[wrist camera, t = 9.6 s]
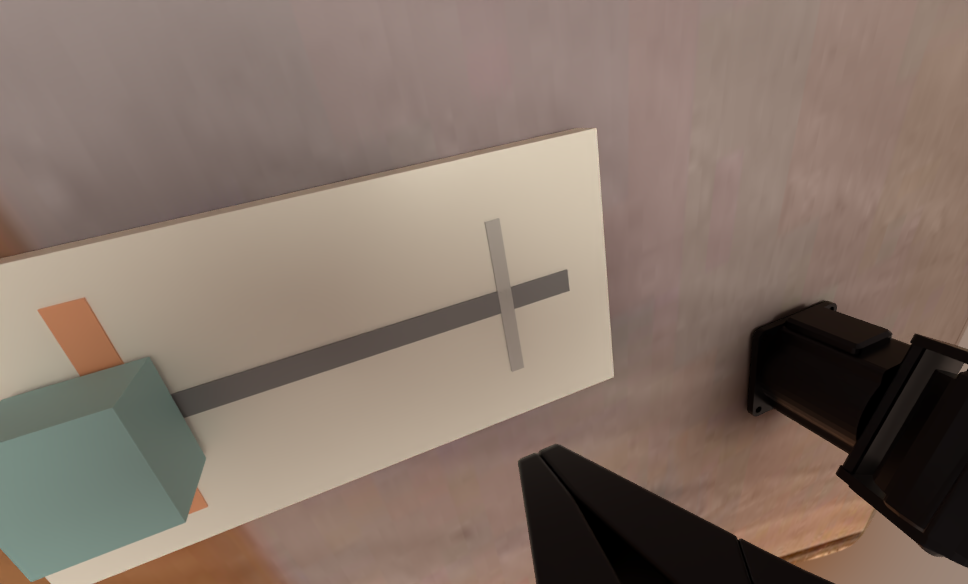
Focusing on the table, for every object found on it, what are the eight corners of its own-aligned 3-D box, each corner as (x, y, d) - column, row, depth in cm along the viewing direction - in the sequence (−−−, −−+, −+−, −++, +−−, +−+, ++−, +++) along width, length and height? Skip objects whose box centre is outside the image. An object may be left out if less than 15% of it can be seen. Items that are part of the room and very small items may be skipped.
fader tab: (206, 458, 16) (185, 522, 14) (79, 502, 15) (31, 582, 13) (149, 356, 14) (112, 407, 12) (2, 399, 13) (-74, 465, 11)
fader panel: (597, 363, 24) (615, 377, 22) (80, 561, 18) (60, 598, 16) (576, 127, 19) (598, 127, 18) (-140, 289, 13) (-195, 310, 12)
